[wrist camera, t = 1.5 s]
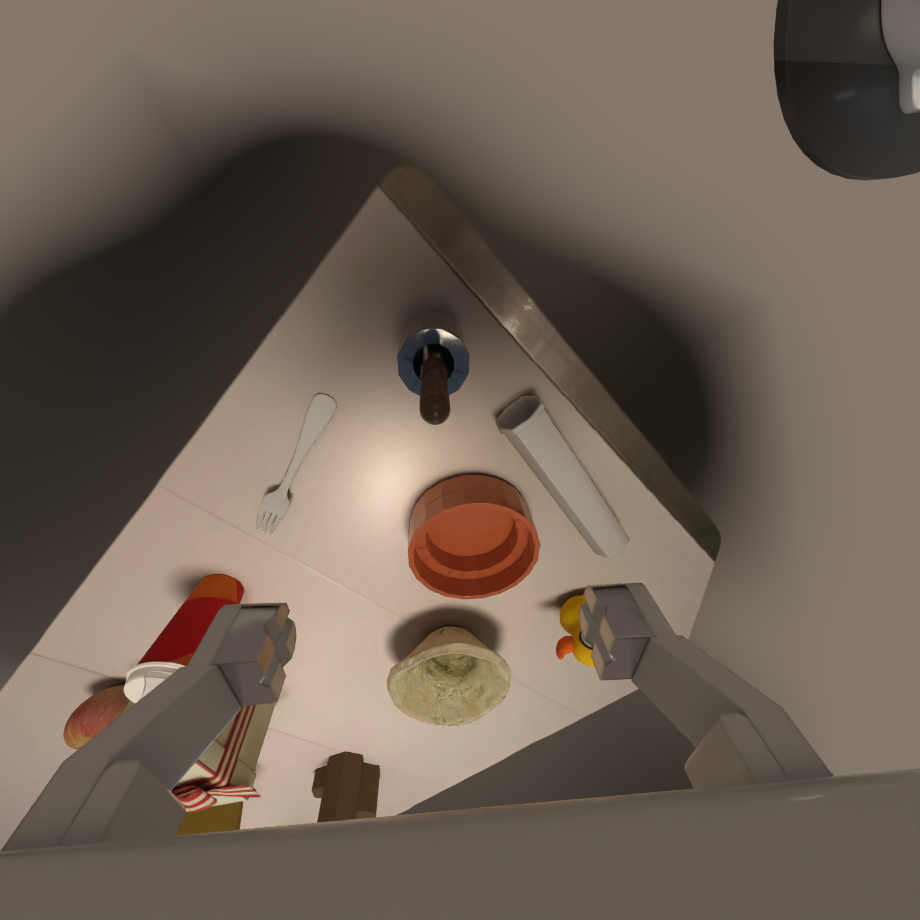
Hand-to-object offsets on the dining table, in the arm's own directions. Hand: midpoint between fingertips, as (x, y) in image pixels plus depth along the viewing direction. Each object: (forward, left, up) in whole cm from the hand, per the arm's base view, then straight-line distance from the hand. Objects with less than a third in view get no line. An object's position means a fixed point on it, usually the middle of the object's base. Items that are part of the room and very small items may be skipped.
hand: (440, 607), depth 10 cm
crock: (0, 0, -30) cm, 30 cm away
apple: (+53, +56, -30) cm, 83 cm away
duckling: (-21, +40, -30) cm, 54 cm away
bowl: (-1, +48, -30) cm, 57 cm away
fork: (+16, +14, -30) cm, 37 cm away
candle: (+22, +91, -30) cm, 99 cm away
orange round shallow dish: (-4, +23, -30) cm, 38 cm away
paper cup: (+30, +33, -30) cm, 54 cm away
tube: (-16, +17, -30) cm, 38 cm away
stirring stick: (0, 0, -30) cm, 30 cm away
